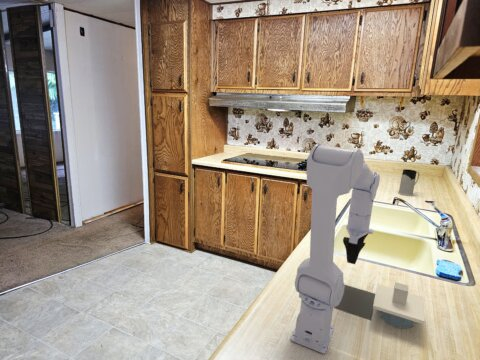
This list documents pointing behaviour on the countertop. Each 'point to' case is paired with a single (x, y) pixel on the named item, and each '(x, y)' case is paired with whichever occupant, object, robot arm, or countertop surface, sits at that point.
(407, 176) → the gray black pitcher
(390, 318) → the bowl
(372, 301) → the mat
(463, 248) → the countertop surface
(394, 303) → the cover
